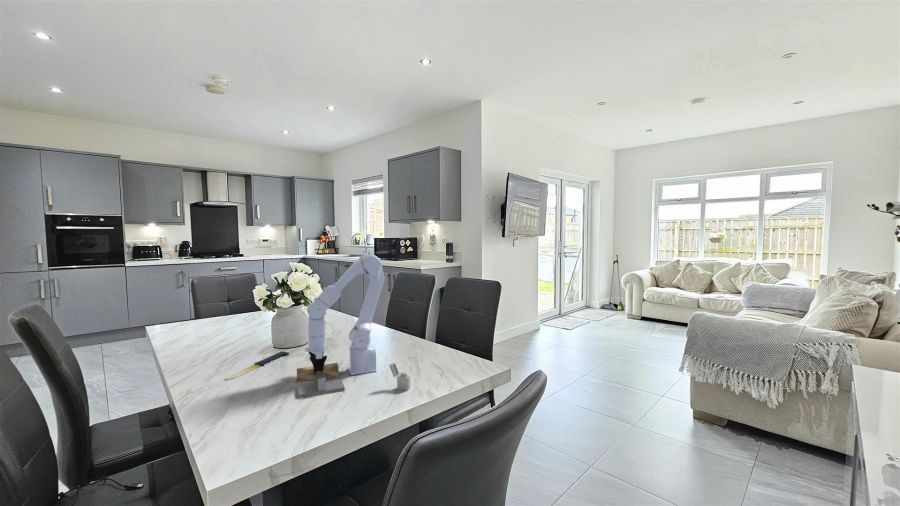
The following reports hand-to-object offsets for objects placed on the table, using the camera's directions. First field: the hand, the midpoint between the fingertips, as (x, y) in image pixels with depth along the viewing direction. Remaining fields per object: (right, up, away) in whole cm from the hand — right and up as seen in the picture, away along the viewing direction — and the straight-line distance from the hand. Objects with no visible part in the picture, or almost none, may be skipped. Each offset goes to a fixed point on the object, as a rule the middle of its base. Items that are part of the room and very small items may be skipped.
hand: (317, 372), depth 133 cm
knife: (-28, -2, +12) cm, 30 cm away
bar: (0, -2, 0) cm, 2 cm away
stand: (+5, -2, -11) cm, 12 cm away
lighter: (+31, -2, -10) cm, 33 cm away
